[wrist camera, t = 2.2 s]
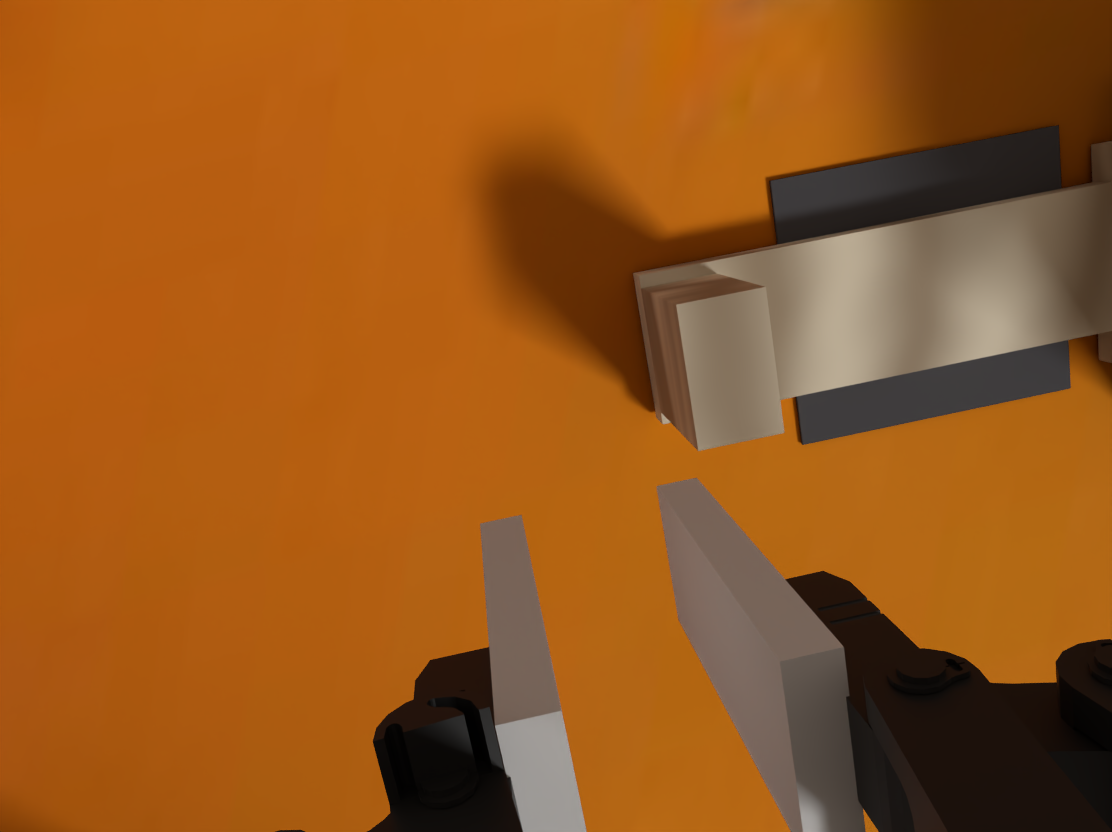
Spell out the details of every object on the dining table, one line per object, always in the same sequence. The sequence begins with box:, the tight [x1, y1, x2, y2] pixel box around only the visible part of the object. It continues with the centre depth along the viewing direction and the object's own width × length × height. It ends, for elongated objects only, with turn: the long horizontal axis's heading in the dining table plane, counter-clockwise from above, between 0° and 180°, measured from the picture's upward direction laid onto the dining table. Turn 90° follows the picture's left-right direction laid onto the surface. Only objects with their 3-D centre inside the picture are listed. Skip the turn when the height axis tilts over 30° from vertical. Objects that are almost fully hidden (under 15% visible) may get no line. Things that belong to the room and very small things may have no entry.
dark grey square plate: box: [770, 125, 1070, 445], centre depth 37 cm, size 12×11×1 cm
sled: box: [633, 141, 1112, 451], centre depth 34 cm, size 21×9×7 cm, turn 101°
